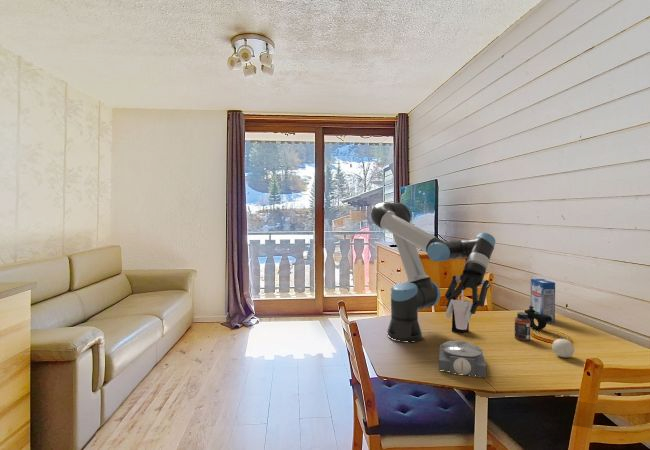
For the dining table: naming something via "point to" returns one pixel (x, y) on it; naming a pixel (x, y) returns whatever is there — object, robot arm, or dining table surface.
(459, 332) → the speaker
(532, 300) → the milk carton
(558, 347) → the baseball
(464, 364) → the scale base
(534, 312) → the controller
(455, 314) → the smoothie
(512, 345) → the dining table surface
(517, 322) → the supplement bottle
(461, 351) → the scale pan
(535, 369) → the dining table surface
